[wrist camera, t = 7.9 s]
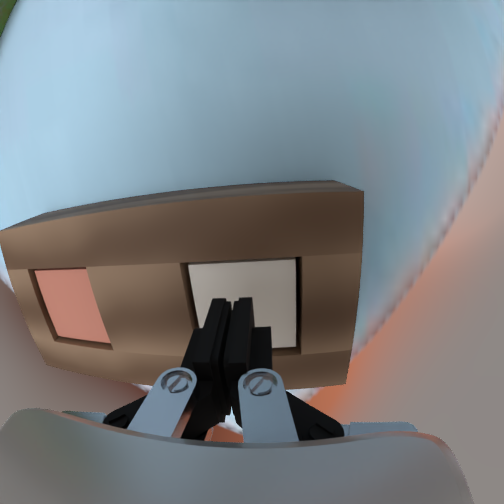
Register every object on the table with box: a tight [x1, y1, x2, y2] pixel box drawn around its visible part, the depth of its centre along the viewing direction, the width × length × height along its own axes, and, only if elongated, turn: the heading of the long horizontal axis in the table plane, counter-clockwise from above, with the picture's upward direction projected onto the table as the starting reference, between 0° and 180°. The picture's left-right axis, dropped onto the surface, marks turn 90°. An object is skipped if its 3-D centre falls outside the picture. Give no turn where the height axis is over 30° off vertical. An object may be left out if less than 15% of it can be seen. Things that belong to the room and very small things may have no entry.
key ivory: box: [188, 257, 296, 348], centre depth 17 cm, size 5×5×4 cm
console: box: [0, 180, 364, 390], centre depth 18 cm, size 12×24×6 cm, turn 94°
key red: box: [35, 267, 111, 343], centre depth 18 cm, size 5×5×4 cm
